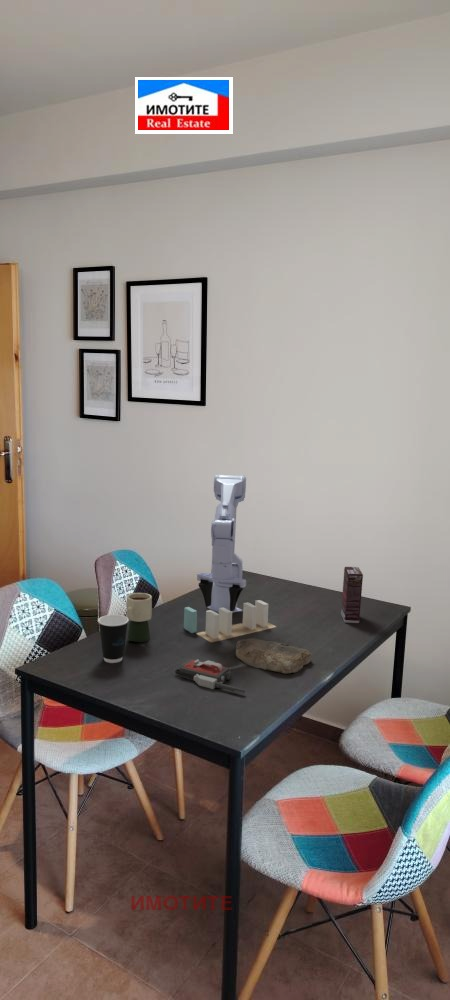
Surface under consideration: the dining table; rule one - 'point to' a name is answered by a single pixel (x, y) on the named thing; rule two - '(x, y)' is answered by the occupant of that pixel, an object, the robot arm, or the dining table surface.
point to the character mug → (139, 616)
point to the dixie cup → (113, 636)
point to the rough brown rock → (272, 655)
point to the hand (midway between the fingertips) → (220, 608)
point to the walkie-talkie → (206, 674)
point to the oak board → (235, 632)
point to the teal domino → (190, 619)
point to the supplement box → (351, 594)
